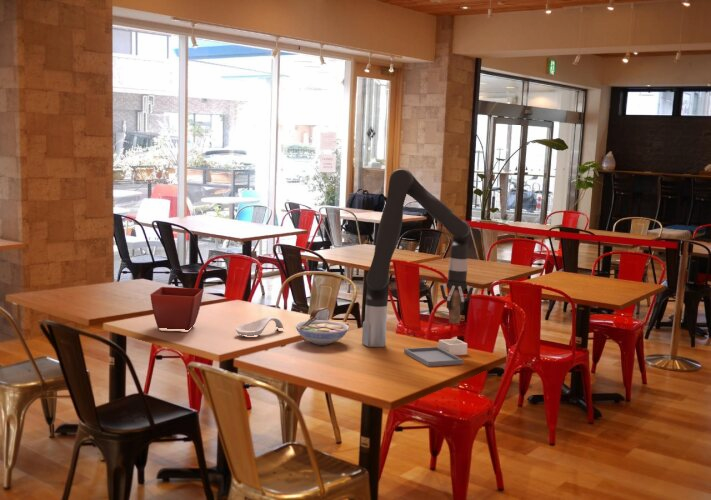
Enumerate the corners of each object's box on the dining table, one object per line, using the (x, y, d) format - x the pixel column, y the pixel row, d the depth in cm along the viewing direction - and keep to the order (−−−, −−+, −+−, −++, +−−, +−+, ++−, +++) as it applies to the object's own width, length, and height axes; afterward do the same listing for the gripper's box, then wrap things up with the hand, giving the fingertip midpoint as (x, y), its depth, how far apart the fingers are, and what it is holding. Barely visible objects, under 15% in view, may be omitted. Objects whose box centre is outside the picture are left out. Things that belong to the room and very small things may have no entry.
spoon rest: (247, 341, 337) (248, 324, 336) (229, 336, 345) (230, 319, 344) (289, 333, 355) (289, 317, 354) (271, 328, 362) (271, 313, 362)
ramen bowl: (341, 352, 325) (342, 332, 324) (287, 347, 329) (287, 327, 328) (353, 339, 349) (354, 320, 348) (303, 334, 354) (303, 316, 353)
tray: (428, 366, 309) (428, 361, 309) (404, 352, 329) (404, 348, 328) (462, 364, 315) (462, 359, 315) (436, 350, 335) (437, 346, 334)
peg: (452, 323, 330) (455, 289, 328) (448, 321, 333) (451, 288, 331) (459, 323, 331) (461, 289, 329) (455, 321, 334) (457, 288, 332)
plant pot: (193, 335, 343) (194, 296, 341) (149, 333, 343) (149, 294, 341) (203, 325, 362) (203, 288, 360) (160, 323, 362) (161, 286, 360)
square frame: (448, 355, 328) (449, 344, 327) (438, 350, 336) (438, 339, 335) (466, 354, 331) (467, 343, 331) (456, 349, 339) (456, 338, 338)
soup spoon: (324, 322, 380) (325, 305, 379) (330, 323, 379) (331, 305, 378) (308, 328, 367) (309, 309, 366) (314, 329, 366) (315, 310, 365)
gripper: (475, 269, 332) (472, 309, 334) (440, 266, 334) (437, 307, 336) (475, 271, 325) (472, 313, 327) (440, 269, 326) (437, 310, 328)
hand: (454, 309), depth 331 cm, fingers closed on peg, 4 cm apart
